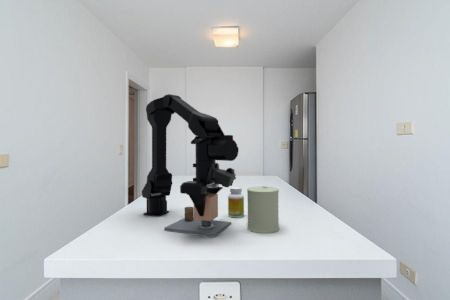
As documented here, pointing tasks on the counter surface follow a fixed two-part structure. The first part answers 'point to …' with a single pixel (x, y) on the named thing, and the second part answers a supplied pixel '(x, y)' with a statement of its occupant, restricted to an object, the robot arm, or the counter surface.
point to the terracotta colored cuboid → (208, 208)
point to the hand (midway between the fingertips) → (206, 213)
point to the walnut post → (189, 214)
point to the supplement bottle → (236, 203)
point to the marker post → (206, 225)
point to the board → (194, 227)
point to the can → (263, 209)
